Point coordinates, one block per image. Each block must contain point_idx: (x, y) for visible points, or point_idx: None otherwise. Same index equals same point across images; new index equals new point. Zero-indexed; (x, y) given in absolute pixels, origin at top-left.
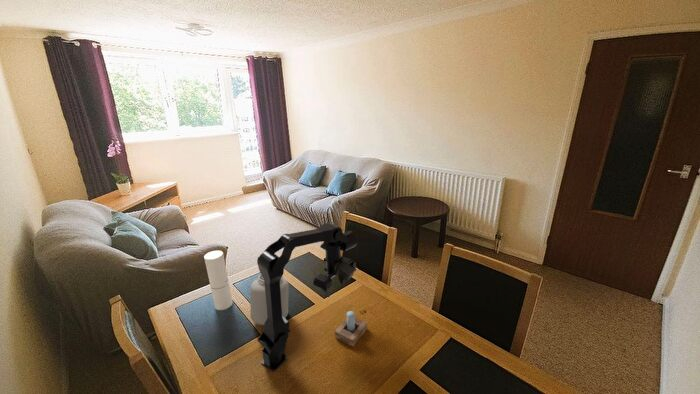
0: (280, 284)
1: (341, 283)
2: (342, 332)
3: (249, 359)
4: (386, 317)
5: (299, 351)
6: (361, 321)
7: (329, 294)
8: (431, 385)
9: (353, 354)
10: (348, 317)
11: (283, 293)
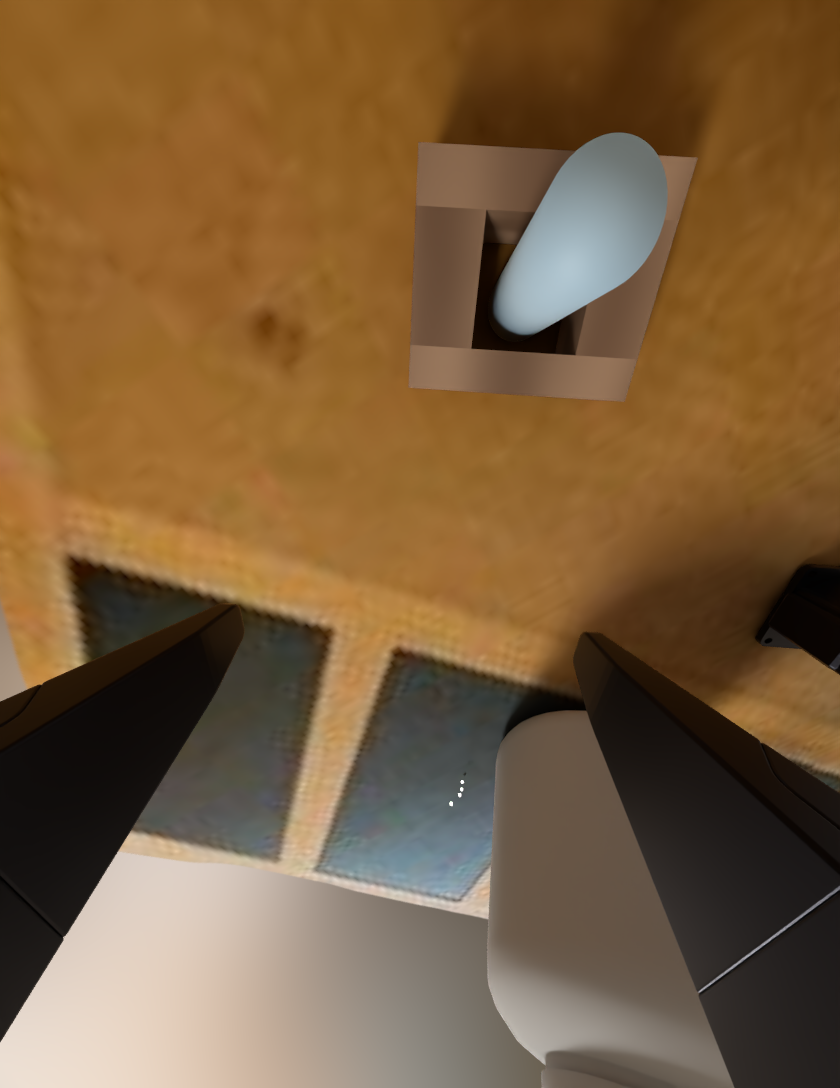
0: (683, 1068)
1: (234, 630)
2: (620, 330)
3: (818, 690)
4: (194, 52)
5: (747, 535)
6: (431, 221)
7: (625, 663)
8: None
9: (725, 148)
10: (651, 232)
11: (668, 933)
